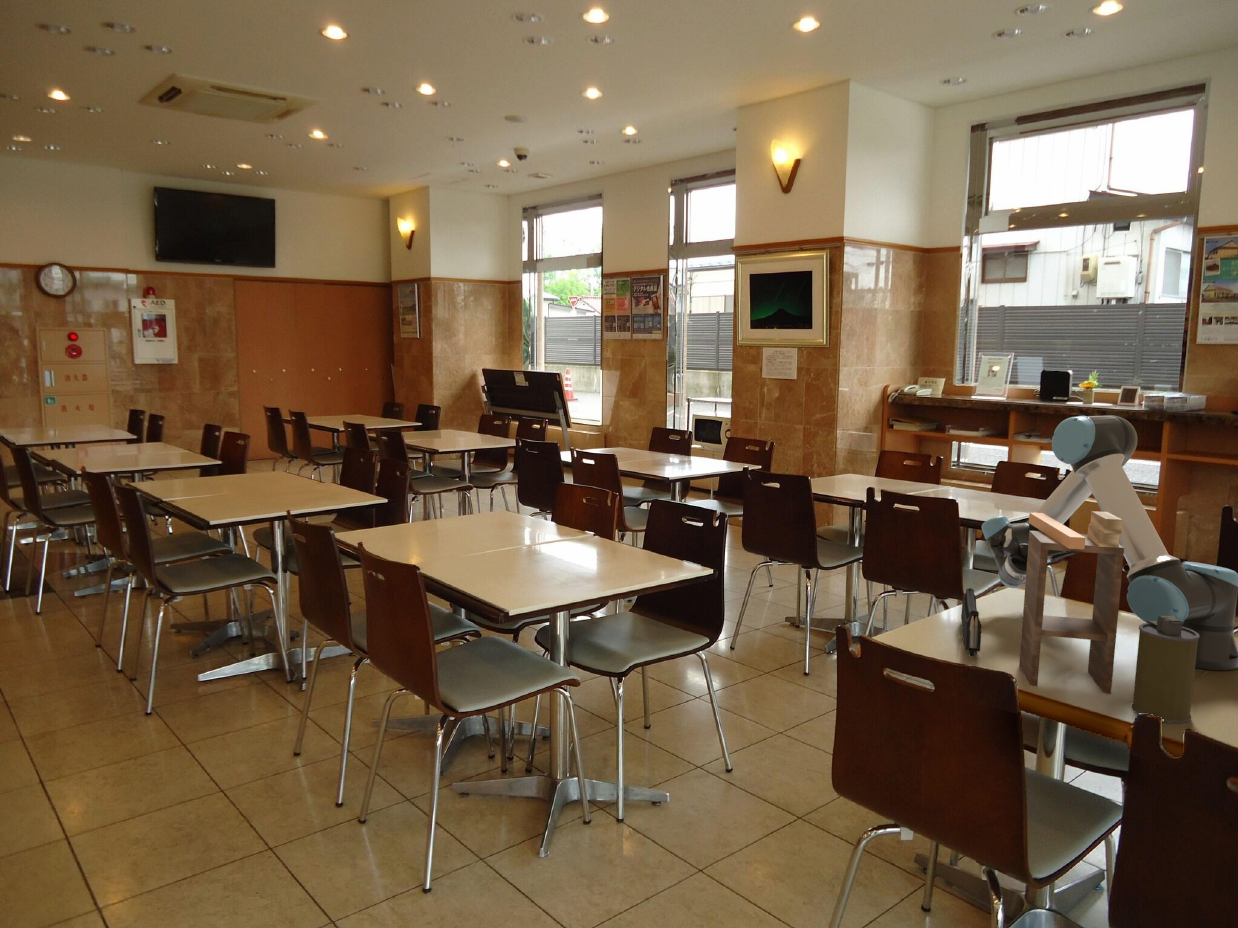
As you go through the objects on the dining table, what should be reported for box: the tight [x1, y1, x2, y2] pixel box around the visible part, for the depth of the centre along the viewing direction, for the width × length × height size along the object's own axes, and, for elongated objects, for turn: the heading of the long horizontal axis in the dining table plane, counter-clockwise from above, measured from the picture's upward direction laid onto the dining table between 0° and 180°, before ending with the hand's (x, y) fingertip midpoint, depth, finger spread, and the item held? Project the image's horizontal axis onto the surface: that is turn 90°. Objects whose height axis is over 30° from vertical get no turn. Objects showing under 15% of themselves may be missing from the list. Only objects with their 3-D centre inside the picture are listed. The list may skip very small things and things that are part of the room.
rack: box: [1018, 510, 1124, 695], centre depth 195 cm, size 16×14×38 cm
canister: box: [1131, 616, 1200, 724], centre depth 178 cm, size 11×10×20 cm
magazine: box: [960, 587, 982, 657], centre depth 223 cm, size 17×3×30 cm
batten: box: [1028, 512, 1085, 549], centre depth 197 cm, size 28×3×2 cm, turn 171°
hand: (1039, 535), depth 216 cm, fingers open, 13 cm apart
